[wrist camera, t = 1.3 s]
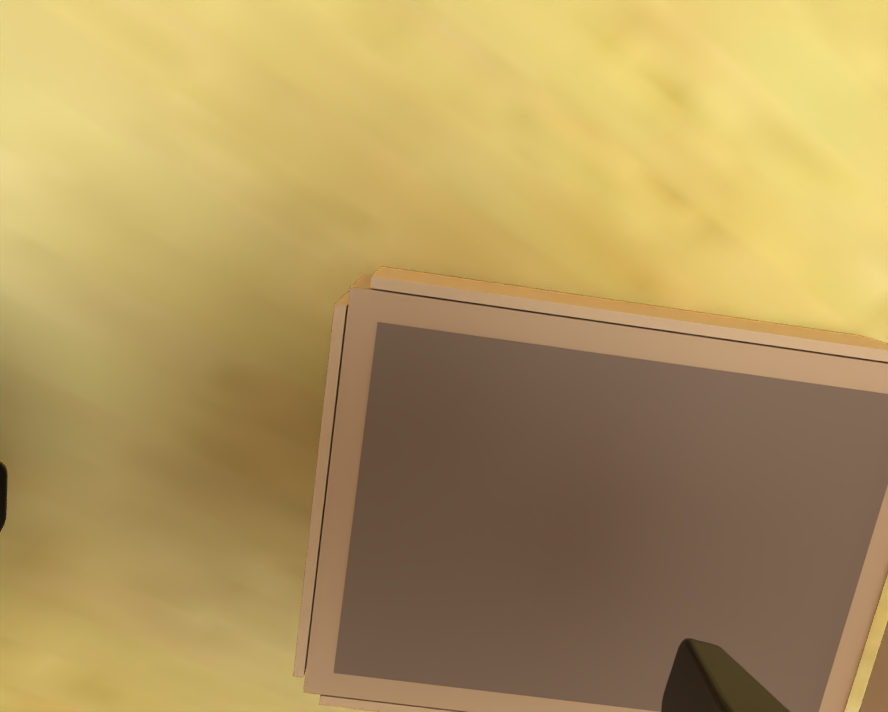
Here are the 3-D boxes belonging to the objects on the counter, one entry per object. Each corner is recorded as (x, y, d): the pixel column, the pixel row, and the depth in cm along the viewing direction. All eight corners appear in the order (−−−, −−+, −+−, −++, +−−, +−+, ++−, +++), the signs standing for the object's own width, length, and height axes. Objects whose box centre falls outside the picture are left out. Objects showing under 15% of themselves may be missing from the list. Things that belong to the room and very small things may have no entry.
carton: (312, 628, 23) (289, 702, 19) (354, 261, 20) (338, 271, 17) (771, 684, 24) (828, 765, 20) (869, 336, 21) (955, 360, 17)
